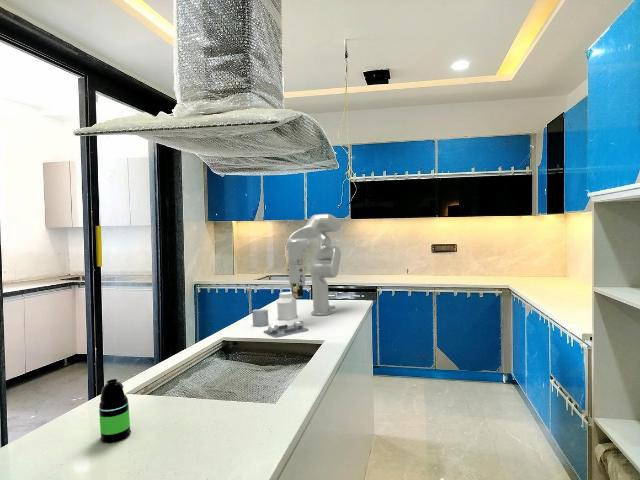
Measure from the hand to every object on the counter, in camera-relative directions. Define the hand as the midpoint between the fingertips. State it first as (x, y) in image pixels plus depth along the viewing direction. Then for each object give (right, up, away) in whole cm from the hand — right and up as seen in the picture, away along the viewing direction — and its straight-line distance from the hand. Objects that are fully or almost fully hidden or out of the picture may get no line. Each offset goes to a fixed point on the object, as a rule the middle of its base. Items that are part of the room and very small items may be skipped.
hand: (297, 295), depth 227 cm
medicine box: (-21, -18, +5) cm, 28 cm away
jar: (-7, -17, +20) cm, 27 cm away
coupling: (0, -1, 0) cm, 1 cm away
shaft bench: (-5, -17, -12) cm, 22 cm away
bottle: (-42, -22, -116) cm, 126 cm away
